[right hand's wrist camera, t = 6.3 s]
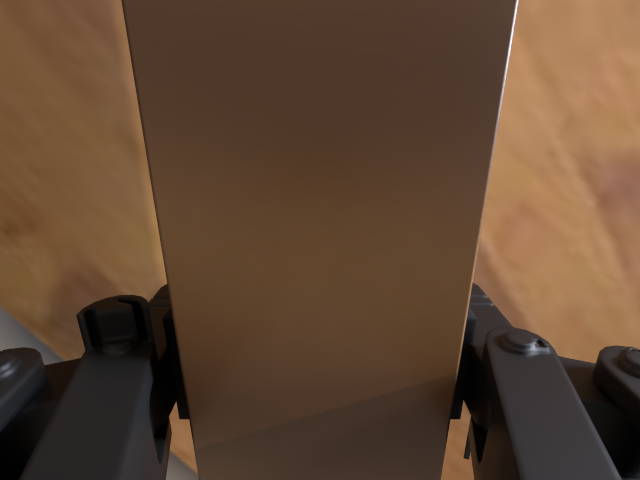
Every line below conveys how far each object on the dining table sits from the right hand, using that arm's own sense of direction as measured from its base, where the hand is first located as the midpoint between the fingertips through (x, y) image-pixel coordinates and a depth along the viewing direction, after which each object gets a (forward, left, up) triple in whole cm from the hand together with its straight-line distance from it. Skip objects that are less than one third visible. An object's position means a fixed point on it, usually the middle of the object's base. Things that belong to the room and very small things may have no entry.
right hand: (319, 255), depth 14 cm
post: (-10, -30, -1) cm, 32 cm away
